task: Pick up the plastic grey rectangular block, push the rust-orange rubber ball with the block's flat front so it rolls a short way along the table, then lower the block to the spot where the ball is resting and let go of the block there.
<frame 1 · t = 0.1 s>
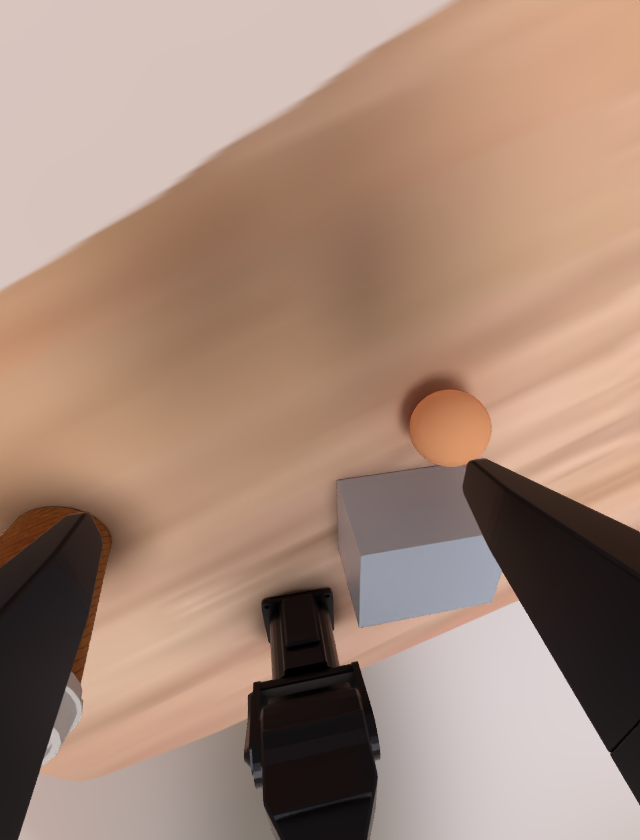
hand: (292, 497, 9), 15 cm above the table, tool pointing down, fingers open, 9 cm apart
ball: (449, 428, 24), on the table
grey rectangular block: (397, 507, 31), on the table
disposable coffee cup: (64, 536, 27), on the table
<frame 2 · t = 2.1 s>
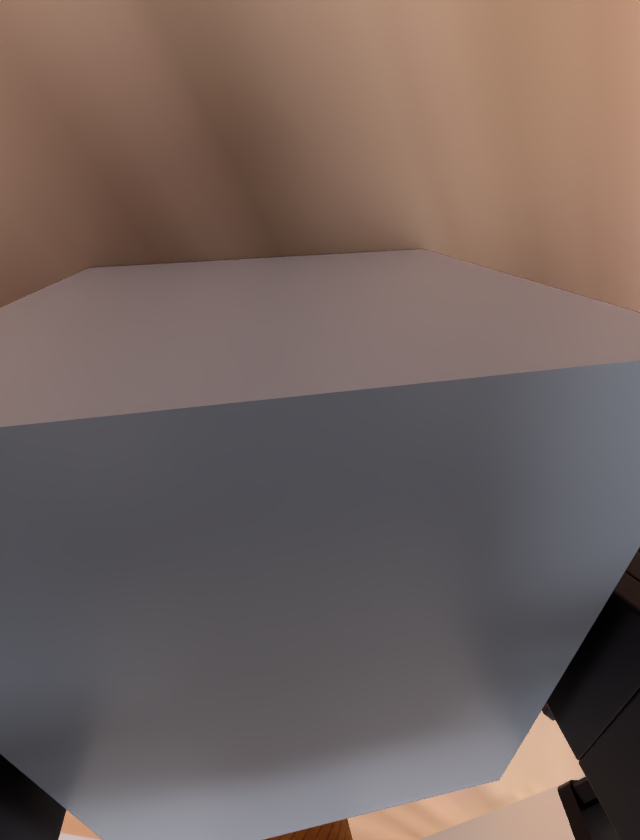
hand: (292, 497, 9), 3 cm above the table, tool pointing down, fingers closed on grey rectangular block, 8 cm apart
grey rectangular block: (283, 439, 11), on the table, touching gripper
disposable coffee cup: (283, 764, 24), on the table
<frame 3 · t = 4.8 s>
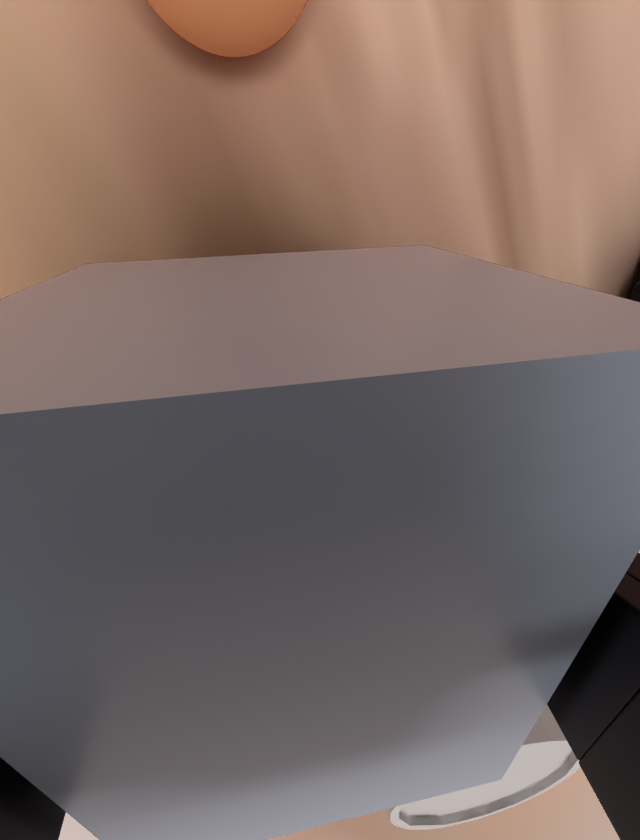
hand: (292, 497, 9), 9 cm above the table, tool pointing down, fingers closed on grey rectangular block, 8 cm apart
grey rectangular block: (282, 437, 11), point 7 cm above the table, touching gripper
disposable coffee cup: (391, 552, 26), on the table
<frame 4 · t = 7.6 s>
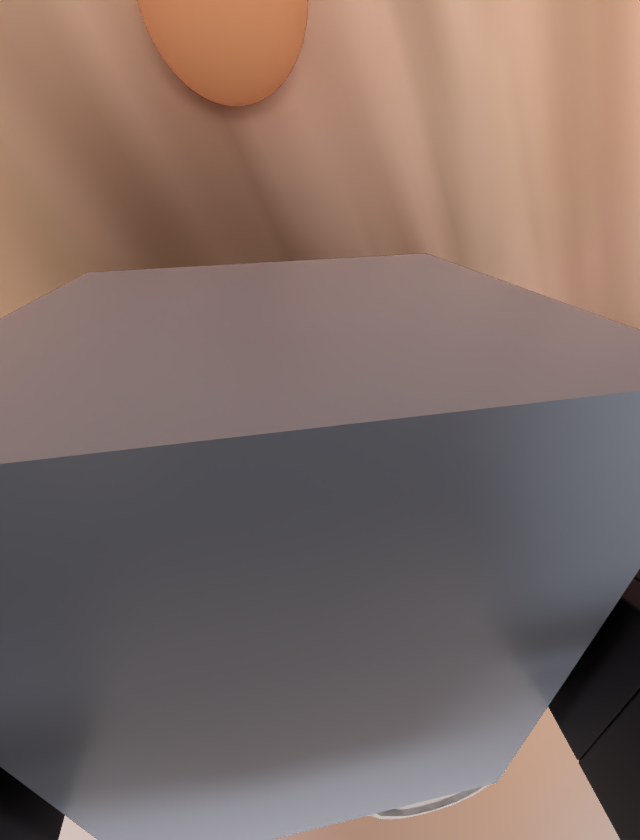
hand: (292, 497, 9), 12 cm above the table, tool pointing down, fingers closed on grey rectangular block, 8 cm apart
grey rectangular block: (283, 442, 11), point 10 cm above the table, touching gripper
disposable coffee cup: (375, 607, 33), on the table
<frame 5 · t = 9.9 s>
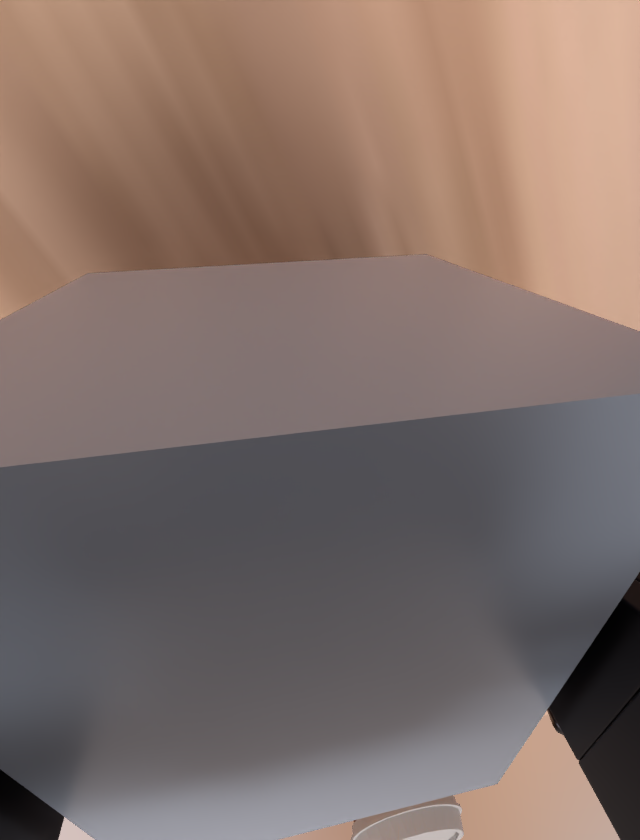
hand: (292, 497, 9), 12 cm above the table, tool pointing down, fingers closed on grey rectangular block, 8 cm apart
grey rectangular block: (283, 443, 11), point 9 cm above the table, touching gripper
disposable coffee cup: (370, 682, 40), on the table
when the fingers open (3 cm above the table, at t = 12.2 s): grey rectangular block stays where it is, on the table.
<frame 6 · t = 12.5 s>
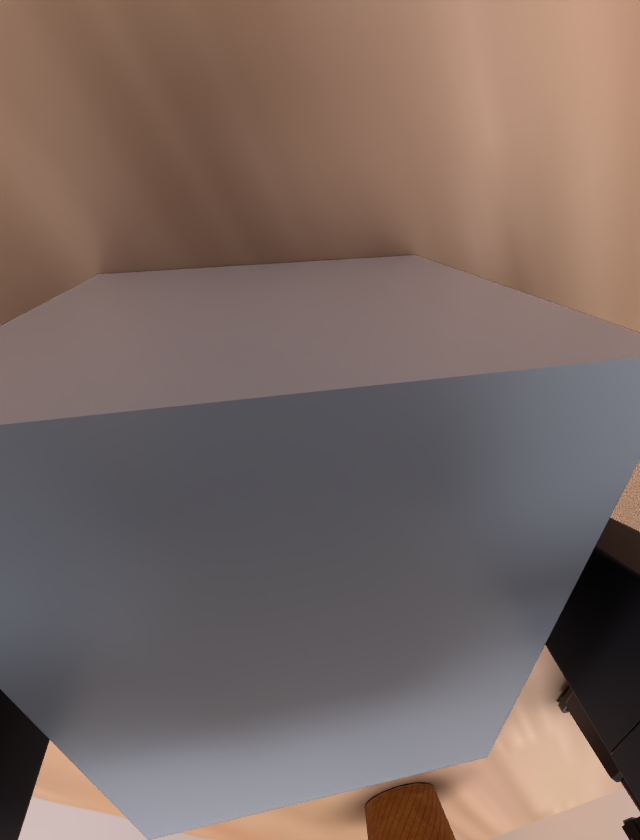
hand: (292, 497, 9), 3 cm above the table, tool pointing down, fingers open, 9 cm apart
grey rectangular block: (282, 436, 12), on the table
disposable coffee cup: (398, 794, 33), on the table
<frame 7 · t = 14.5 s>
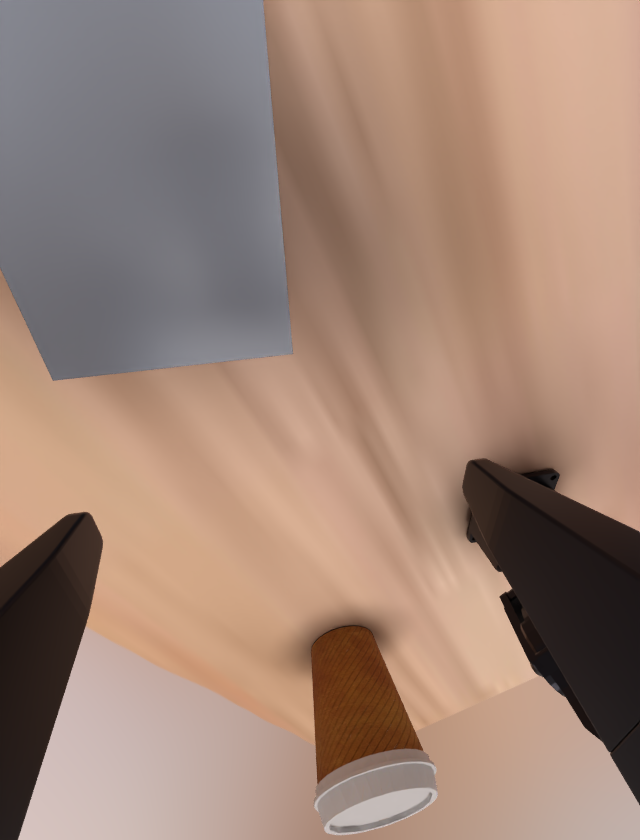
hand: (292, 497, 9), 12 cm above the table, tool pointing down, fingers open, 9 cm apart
grey rectangular block: (170, 187, 15), on the table
disposable coffee cup: (342, 642, 37), on the table
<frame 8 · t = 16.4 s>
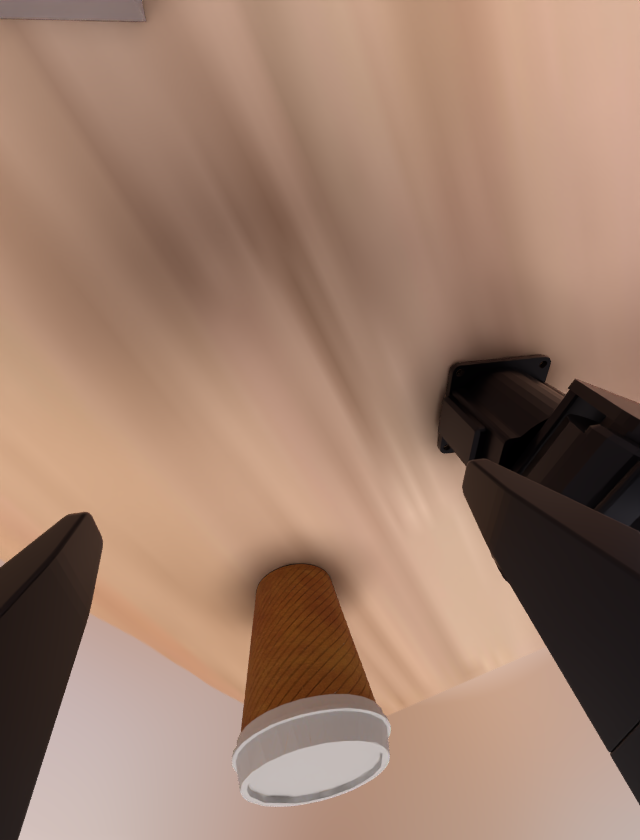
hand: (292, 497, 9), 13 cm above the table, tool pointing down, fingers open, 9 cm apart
disposable coffee cup: (294, 586, 32), on the table
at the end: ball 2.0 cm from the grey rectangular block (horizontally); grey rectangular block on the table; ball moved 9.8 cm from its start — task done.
